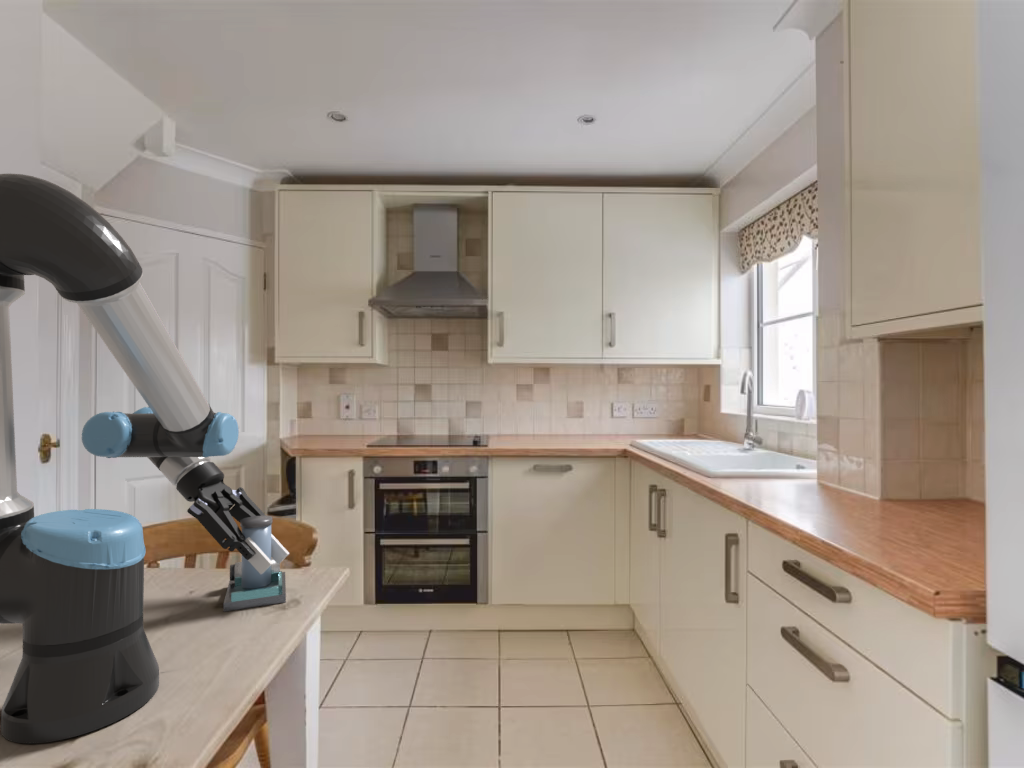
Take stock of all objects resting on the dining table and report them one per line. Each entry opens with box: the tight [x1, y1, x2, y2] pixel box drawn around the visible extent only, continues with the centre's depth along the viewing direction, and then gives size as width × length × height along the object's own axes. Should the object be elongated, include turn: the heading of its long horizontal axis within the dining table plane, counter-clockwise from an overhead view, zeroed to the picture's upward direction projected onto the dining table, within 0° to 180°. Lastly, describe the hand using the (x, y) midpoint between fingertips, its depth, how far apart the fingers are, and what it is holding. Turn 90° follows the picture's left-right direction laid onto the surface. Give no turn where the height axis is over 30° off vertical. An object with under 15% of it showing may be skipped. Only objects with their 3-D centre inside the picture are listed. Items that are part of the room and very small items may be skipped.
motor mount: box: [223, 557, 287, 612], centre depth 100 cm, size 13×10×5 cm
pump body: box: [239, 515, 273, 588], centre depth 98 cm, size 5×5×12 cm
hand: (275, 563), depth 98 cm, fingers closed on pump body, 5 cm apart
